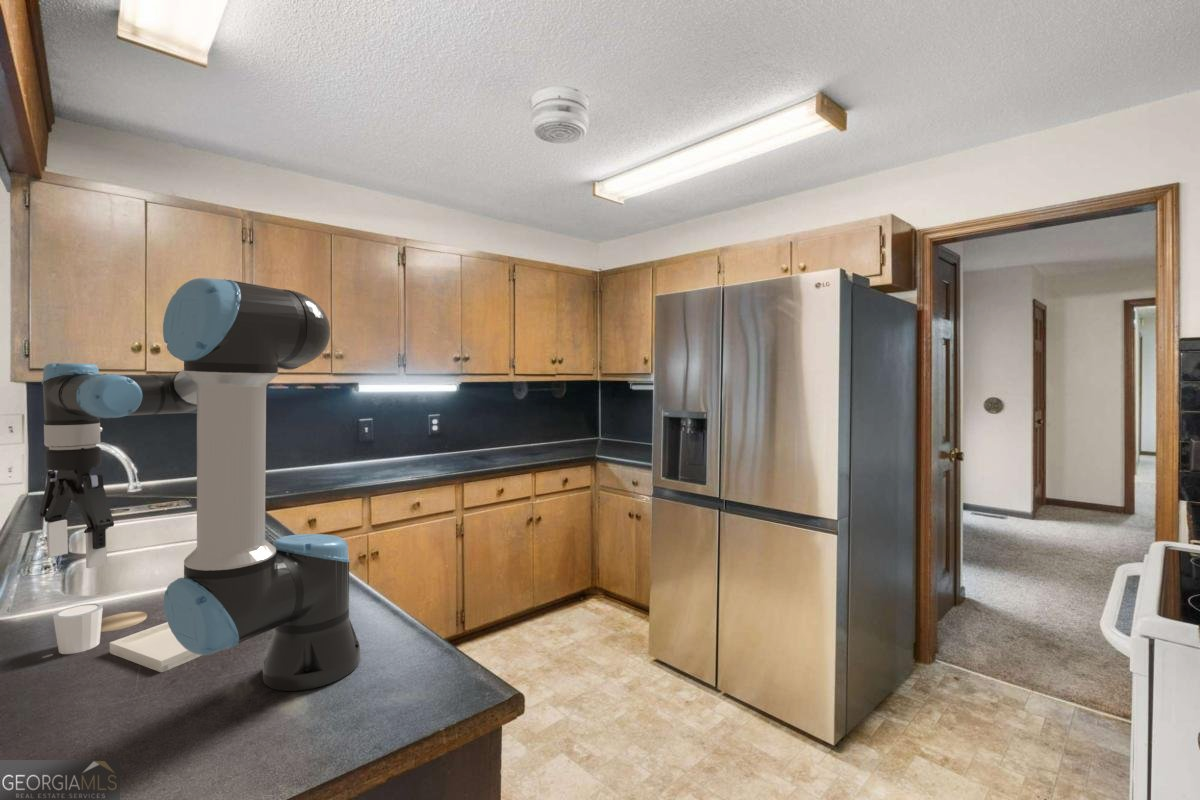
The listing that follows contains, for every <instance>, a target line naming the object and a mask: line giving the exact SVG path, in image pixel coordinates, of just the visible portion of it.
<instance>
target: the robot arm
mask: <svg viewBox="0 0 1200 800" xmlns="http://www.w3.org/2000/svg"><path fill="white" fill-rule="evenodd" d="M162 321H163V322H162V336H163V340H164V343H166V350H167V351H168V352H169V353H170V355H171V356H172V357H174V358H176V359H178V360H180V361H182V362H183V369H182V370H180V371H178V372H176V373H174V374H119V373H117V374H116V373H100V370H99V367H98V366H97V364H94V363H78V362H77V363H76V362H75V363H74V362H73V363H72V362H67V363H66V362H60V363H59V362H58V363H57V362H50V363H47V364H45V366H44V367H43V373H42V374H43V375H42V382H41V385H42V391H43V392H42V393H43V394H42V396H43V420H44V424H43V437H44V438H43V440H44V441H43V442H44V443H43V444H44V446H45V447H47V448H48V449H46V451H45V452H44V453H45V454H44V459H45V460H44V461H45V469H46V470H48V471H47V472H46V485H45V489H44V494H43V497H42V501H41V505H40V510H39V514H38V515H39V517H40V518H44V522H46V537H47V538H46V540H47V541H46V544H47V545H46V546H47V551H46V552H47V557H48V558H54V557H59V556H63V555H64V556H65V555H68V554H69V548H68V547H69V546H68V545H69V544H68V541H69V540H68V537H69V536H68V520H67V519H69V516H68V513H67V512H68V510H69V508H70V506H71V503H72V502H73V503H76V504H77V507H78V509H79V512H80V514H81V515H82V518H83V520H84V523H85V525H86V528H85V529H84V530H83V533H84V534H85V562H86V563H85V564H86V565H85V566H86V567H85V568H86V569H92V568H96V567H101V566H104V565H107V564H108V557H107V555H108V554H107V552H108V551H107V547H108V546H107V530H108V529H109V528H112V527H114V525H115V521H114V518H113V515H112V512H111V511H112V510H111V508H110V504H109V501H108V498H107V497H108V496H107V494H106V490H105V486H104V476H103V475H102V474H93V473H92V469H93V468H98V467H100V466H101V465H102V448H101V447H100V446H97V445H99V444H101V432H103V427H101V419H118V418H123V417H125V416H126V417H127V416H128V417H129V416H145V415H165V414H196V548H195V549H194V550H192V551H191V552H190V554H188V555H187V556H186V557H185V559H184V560H183V577H178V578H177V579H175V580H174V581H172V582H171V583H170V584H168V586H167V587H166V590H165V592H164V594H163V610H164V616H165V620H166V622H168V625H169V627H170V629H171V631H172V633H173V635H174V636H175V637H176V639H177V640H178V642H179V643H180V644H181V645H182V646H183V647H184V648H186V649H187V650H188V651H190V652H192V653H195V654H198V655H202V656H208V655H209V656H210V655H213V654H216V653H218V652H221V651H223V650H226V649H233V648H234V647H237V646H238V645H239V644H241V643H243V642H246V641H248V640H251V639H253V638H255V637H258V636H260V635H262V634H264V633H267V632H269V631H271V630H273V629H274V631H273V634H272V637H271V640H270V645H269V646H268V651H267V654H266V657H265V659H264V661H263V663H262V664H263V665H262V680H263V684H265V685H266V686H267V687H268V688H270V689H273V690H277V691H282V692H296V691H297V692H299V691H306V690H311V689H315V688H320V687H323V686H327V685H329V684H332V683H334V682H337V681H339V680H341V679H343V678H345V677H346V676H348V675H350V674H351V673H352V672H354V670H356V668H357V667H358V666H359V664H360V662H361V645H360V643H359V640H358V638H357V635H356V632H355V630H354V627H353V624H352V622H351V619H350V563H351V559H350V558H349V557H350V556H349V546H348V542H347V541H346V540H345V539H344V538H343V537H341V536H337V535H331V534H323V533H301V534H292V535H291V534H290V535H284V536H280V537H277V538H276V539H275V540H274V541H273V542H272V543H273V544H272V543H270V542H269V541H267V540H266V477H267V476H266V474H267V473H266V471H267V470H266V466H267V465H266V463H267V460H266V459H267V458H266V457H267V453H266V450H267V448H266V447H267V446H266V445H267V444H266V443H267V439H266V438H267V436H266V435H267V386H268V384H269V383H270V382H272V381H273V380H274V379H275V378H276V377H278V375H279V370H285V371H291V370H295V369H298V368H301V367H302V366H305V365H307V364H309V363H311V362H313V361H315V360H316V359H318V357H319V356H321V355H322V353H324V351H325V350H326V348H327V346H328V344H329V341H330V338H331V327H330V322H329V319H328V316H327V314H326V313H325V311H324V309H323V308H322V307H321V306H320V305H319V304H318V303H317V302H316V301H315V300H314V299H312V298H311V297H310V296H308V295H306V294H303V293H301V292H299V291H295V290H291V289H282V288H281V289H280V288H277V287H276V288H275V287H271V286H265V285H260V284H253V283H247V282H242V281H237V280H232V279H225V278H224V279H220V278H208V277H200V278H199V277H198V278H193V279H191V280H189V281H187V282H185V283H184V284H182V285H181V286H180V287H178V288H177V290H176V292H175V293H174V294H173V295H172V296H171V298H170V300H169V301H168V304H167V307H166V310H165V312H164V316H163V320H162Z"/></svg>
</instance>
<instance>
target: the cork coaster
mask: <svg viewBox="0 0 1200 800" xmlns="http://www.w3.org/2000/svg"><path fill="white" fill-rule="evenodd" d="M147 618H148V614H147V612H145V611H129V612H128V611H127V612H122V613H117V614H113V615H109V616H105V617H102V622H101V632H100V633H106V632H112V631H113V632H115V631H119V630H120V631H121V630H124V629H126V628H127V629H128V628H129V627H130V628H131V627H134V626H135V625H139V624H141V623H142V622H144V621H146V619H147Z"/></svg>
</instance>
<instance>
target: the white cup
mask: <svg viewBox="0 0 1200 800" xmlns="http://www.w3.org/2000/svg"><path fill="white" fill-rule="evenodd" d="M103 607H104V605H103V604H102V603H94V602H93V603H85V604H84V603H83V604H80V605H79V604H78V605H75V606H74V605H73V606H71V607H66V608H64V609H61V610H58V611H57V612H55V613H54V614H53V616H52V618H53V624H54V630H55V631H54V632H55V638H56V643H57V648H58V653H59V654H62V655H72V654H73V655H75V654H77V653H78V654H79V653H82V652H85V651H88V650H92V649H94V648H96V647H97V646H98V645H100V641H101V633H102V632H101V622H102V619H103V612H104V611H103V610H104V609H103Z"/></svg>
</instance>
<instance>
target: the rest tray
mask: <svg viewBox="0 0 1200 800" xmlns="http://www.w3.org/2000/svg"><path fill="white" fill-rule="evenodd" d="M109 653H110V655H114V656H116V657H119V658H122V659H124V660H126V661H129V662H131V663H132V662H133V663H135V664H138V665H140V666H142V667H145V668H148V669H150V670H154V671H156V672H158V673H161V674H163V673H164V672H167V671H170V670H171V669H174V668H176V667H178V666H181V665H183V664H185V663H188V662H190V661H193V660H195V659H197V658H200V657H202V656H203V655H198V654H195V653H192V652H190V651H188V650H187V649H186V648H184V647H183V646H182V645H181V644H180V643H179V642H178V640H177V639H176V637H175V636H174V635H173V633H172V631H171V629H170V627H169V625H168V622H167V621H166V622H163V623H161V624H157V625H155V626H152V627H149V628H147V629H144V630H141V631H138V632H136V633H132V634H130V635H127V636H125V637H124V636H123V637H121V638H118V639H116V640H113V641H110V642H109Z"/></svg>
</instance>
